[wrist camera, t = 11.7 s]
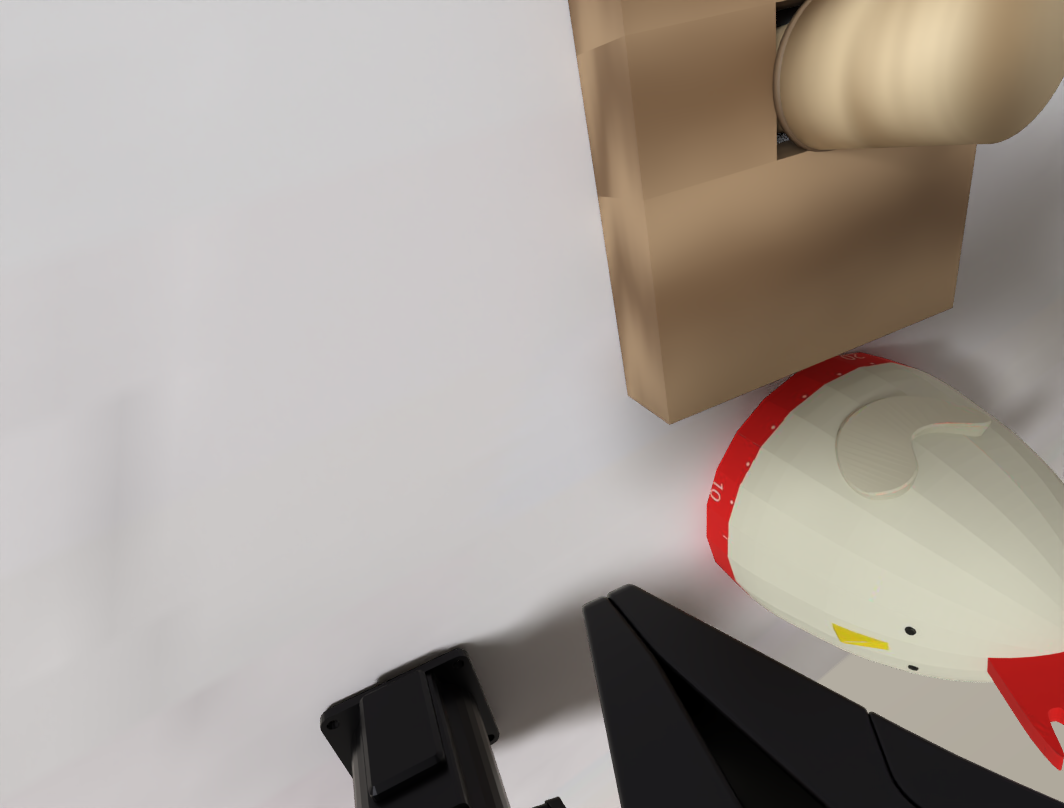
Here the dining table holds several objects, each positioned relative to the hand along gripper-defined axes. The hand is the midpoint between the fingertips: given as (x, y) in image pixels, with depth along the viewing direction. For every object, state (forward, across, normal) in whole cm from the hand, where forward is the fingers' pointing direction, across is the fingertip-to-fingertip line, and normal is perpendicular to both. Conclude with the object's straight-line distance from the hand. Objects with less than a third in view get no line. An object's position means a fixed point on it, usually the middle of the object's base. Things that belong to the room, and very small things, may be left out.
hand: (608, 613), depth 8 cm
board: (+12, -14, -4) cm, 19 cm away
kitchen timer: (+13, -17, +13) cm, 25 cm away
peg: (+12, -14, -6) cm, 20 cm away
